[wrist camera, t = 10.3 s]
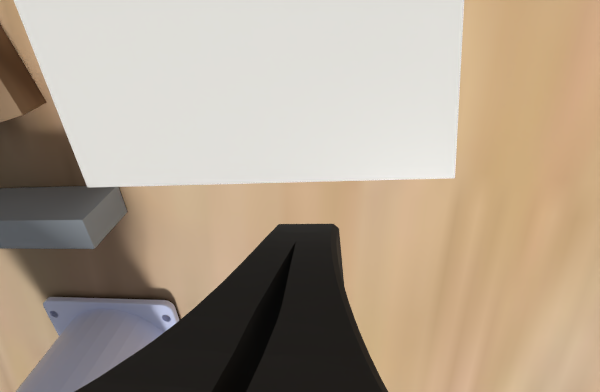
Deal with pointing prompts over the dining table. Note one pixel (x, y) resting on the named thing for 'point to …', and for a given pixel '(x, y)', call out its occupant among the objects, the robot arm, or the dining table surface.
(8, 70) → the tile
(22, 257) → the dining table surface
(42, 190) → the box
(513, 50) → the dining table surface
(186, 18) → the board
